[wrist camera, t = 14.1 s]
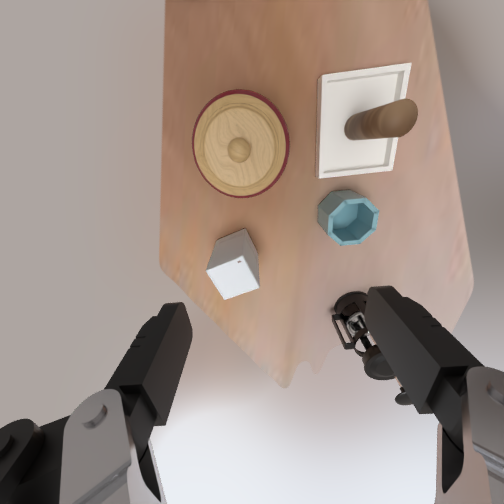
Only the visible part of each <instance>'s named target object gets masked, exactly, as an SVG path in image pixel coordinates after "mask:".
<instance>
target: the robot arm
mask: <svg viewBox="0 0 504 504" xmlns="http://www.w3.org/2000/svg"><path fill="white" fill-rule="evenodd" d="M364 319H365V324H366V327H367V329H368V331H369V332H370V334H371V336H372V337H373V339H374V341H375V342H376V344H377V346H378V347H379V349H380V351H381V352H382V354H383V355H384V357H385V359H386V360H387V362H388V364H389V365H390V367H391V369H392V370H393V372H394V373H395V375H396V377H397V378H398V380H399V382H400V383H401V385H402V387H403V388H404V390H405V392H406V393H407V395H408V396H409V398H410V400H411V401H412V403H413V404H414V406H415V408H416V410H417V411H418V413H419V414H432V413H434V414H435V416H436V417H437V419H438V421H439V424H438V429H437V430H438V431H437V475H436V498H435V503H434V504H504V372H502V371H500V370H497V369H494V368H490V367H485V366H484V365H483V364H481V363H480V362H479V361H478V360H477V359H476V358H475V357H474V356H473V355H472V354H471V353H470V352H469V351H468V350H467V349H466V348H465V347H464V346H463V345H462V344H461V343H460V342H459V341H458V340H457V339H456V338H455V337H453V335H452V334H451V333H450V332H449V331H447V330H446V329H445V328H444V327H442V326H441V324H440V323H439V322H438V321H437V320H436V319H435V318H433V317H432V315H431V314H430V313H429V312H428V311H427V310H426V309H425V308H424V307H423V306H422V305H420V304H418V303H417V302H415V301H413V300H412V299H410V298H408V297H402V296H401V295H400V294H399V292H398V291H397V290H396V289H395V288H394V287H392V286H378V287H370V288H369V291H368V296H367V302H366V307H365V313H364ZM191 341H192V326H191V323H190V320H189V317H188V314H187V311H186V308H185V305H184V303H182V302H178V303H166V304H164V305H163V306H162V308H161V310H160V312H159V313H158V315H157V316H153V317H152V318H150V320H148V321H147V322H146V323H145V324H144V325H143V326H142V328H141V329H140V331H139V332H138V334H137V336H136V339H134V341H133V342H132V344H131V346H130V349H128V351H127V352H126V354H125V356H124V357H123V359H122V361H121V362H120V364H119V366H118V367H117V369H116V371H115V372H114V374H113V376H112V377H111V379H110V380H109V382H108V384H107V385H106V387H105V388H104V390H101V391H99V392H97V393H95V394H93V395H91V396H90V397H88V398H87V399H86V400H84V401H83V402H82V403H81V404H80V405H79V406H78V407H77V408H76V409H75V411H74V412H73V413H72V414H71V415H70V416H67V417H64V418H62V419H59V420H56V421H54V422H51V423H49V424H46V425H43V426H41V427H38V426H37V425H36V424H35V423H34V422H33V421H31V420H30V419H20V420H17V421H14V422H11V423H9V424H7V425H6V426H4V427H2V428H1V429H0V504H167V503H166V499H165V495H164V492H163V487H162V483H161V480H160V476H159V472H158V468H157V464H156V460H155V456H154V452H153V448H152V444H151V441H150V435H151V432H152V430H153V427H154V426H164V425H166V422H167V418H168V416H169V412H170V409H171V406H172V403H173V400H174V396H175V393H176V390H177V387H178V384H179V380H180V377H181V374H182V370H183V367H184V364H185V361H186V358H187V355H188V351H189V348H190V345H191Z"/></svg>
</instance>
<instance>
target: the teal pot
mask: <svg viewBox="0 0 504 504" xmlns="http://www.w3.org/2000/svg"><path fill="white" fill-rule="evenodd" d="M378 214H379V210H378V209H377V208H376V207H375V206H374V205H373V204H372V203H371V202H370V201H369V200H368V199H367V198H366V197H364V196H362V195H359V194H357V193H355V192H353V191H351V190H342V191H332V192H330V193H329V195H328V196H327V197H326V198H325V199H324V200H323V201H322V202H321V203H320V204H319V205H318V223H319V224H320V226H321V227H322V228H323V229H324V231H325V232H326V233H327V234H328V235H329V236H330V237H331V238H332V239H333V240H335V241H336V242H337V243H338V244H339V245H340V246H342V245H353V244H360V243H361V242H363V241H364V240H365V239H366V238H367V237H368V236H369V235H371V234H372V233H373V232H374V231H375V230H376V226H377V220H378Z"/></svg>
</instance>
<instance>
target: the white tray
mask: <svg viewBox="0 0 504 504" xmlns="http://www.w3.org/2000/svg"><path fill="white" fill-rule="evenodd" d="M410 69H411V63H405V64H398V65H391V66H383V67H376V68H369V69H361V70H354V71H347V72H340V73H332V74H325V75H322V76H321V77H320V78H319V79H318V90H317V130H316V170H315V177H317V178H319V179H320V178H329V177H338V176H347V175H356V174H365V173H374V172H383V171H392V169H393V164H394V158H395V153H396V147H397V141H398V137H395V138H381V139H367V140H350V139H348V138H347V137H346V135H345V133H344V127H345V124H346V122H347V120H348V119H349V118H350V117H351V116H352V115H354V114H357V113H360V112H363V111H366V110H369V109H373V108H376V107H379V106H382V105H385V104H388V103H391V102H394V101H398V100H401V99H405V97H406V91H407V86H408V80H409V75H410Z"/></svg>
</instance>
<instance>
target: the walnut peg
mask: <svg viewBox="0 0 504 504" xmlns="http://www.w3.org/2000/svg"><path fill="white" fill-rule="evenodd" d="M417 116H418V109H417V106H416V104H415V103H414V102H413V101H412V100H410V99H401V100H398V101H394V102H391V103H388V104H385V105H382V106H379V107H376V108H373V109H369V110H366V111H363V112H360V113H357V114H354V115H352V116H351V117H350V118H349V119H348V120H347V122H346V124H345V127H344V133H345V135H346V137H347V138H348V139H350V140H367V139H381V138H395V137H401V136H403V135H405V134H407V133H408V132H409V131H410V130H411V129H412V128H413V126H414V124H415V122H416V120H417Z"/></svg>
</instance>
